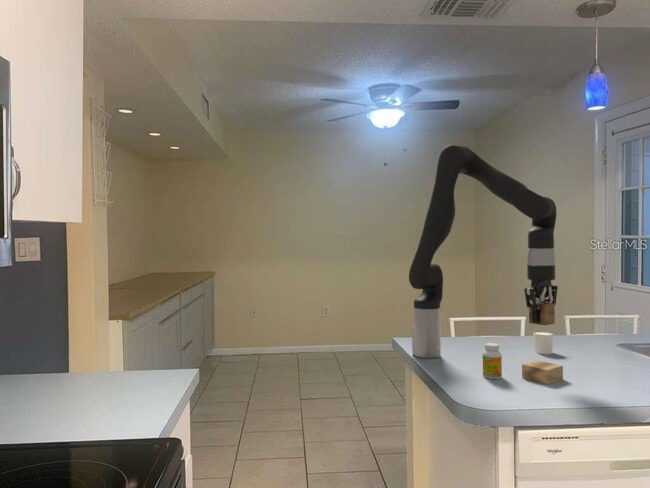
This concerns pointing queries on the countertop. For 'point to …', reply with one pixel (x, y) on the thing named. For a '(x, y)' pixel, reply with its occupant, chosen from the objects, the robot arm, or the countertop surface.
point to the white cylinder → (543, 342)
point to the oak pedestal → (542, 372)
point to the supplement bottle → (492, 361)
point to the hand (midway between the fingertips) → (541, 321)
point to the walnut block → (544, 314)
